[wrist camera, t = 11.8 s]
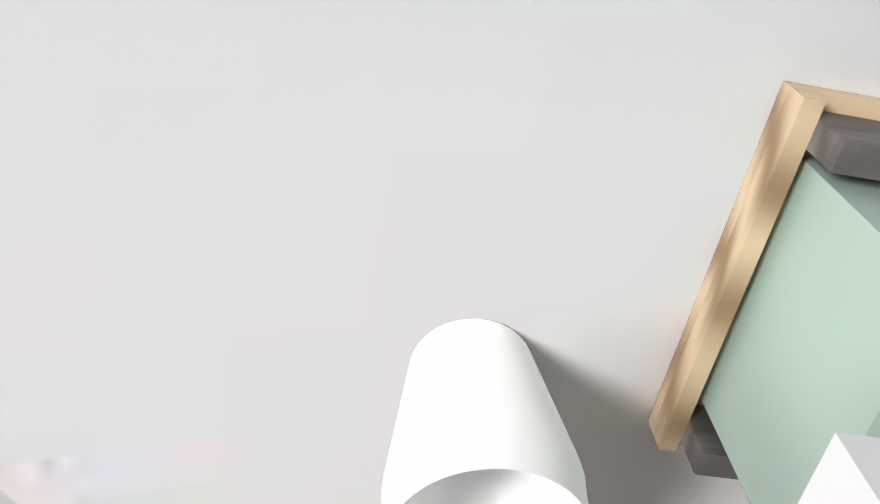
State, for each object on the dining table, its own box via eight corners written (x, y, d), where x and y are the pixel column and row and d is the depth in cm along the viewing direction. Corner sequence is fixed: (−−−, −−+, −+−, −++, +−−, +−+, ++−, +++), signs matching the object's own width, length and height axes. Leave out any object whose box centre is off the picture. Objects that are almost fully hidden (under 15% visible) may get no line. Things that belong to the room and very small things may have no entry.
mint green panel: (799, 155, 38) (944, 295, 28) (880, 169, 39) (1053, 312, 28) (697, 392, 45) (784, 577, 35) (768, 401, 46) (874, 586, 35)
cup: (584, 328, 44) (638, 500, 33) (511, 449, 48) (539, 637, 37) (424, 274, 42) (428, 438, 31) (362, 405, 46) (348, 589, 35)
